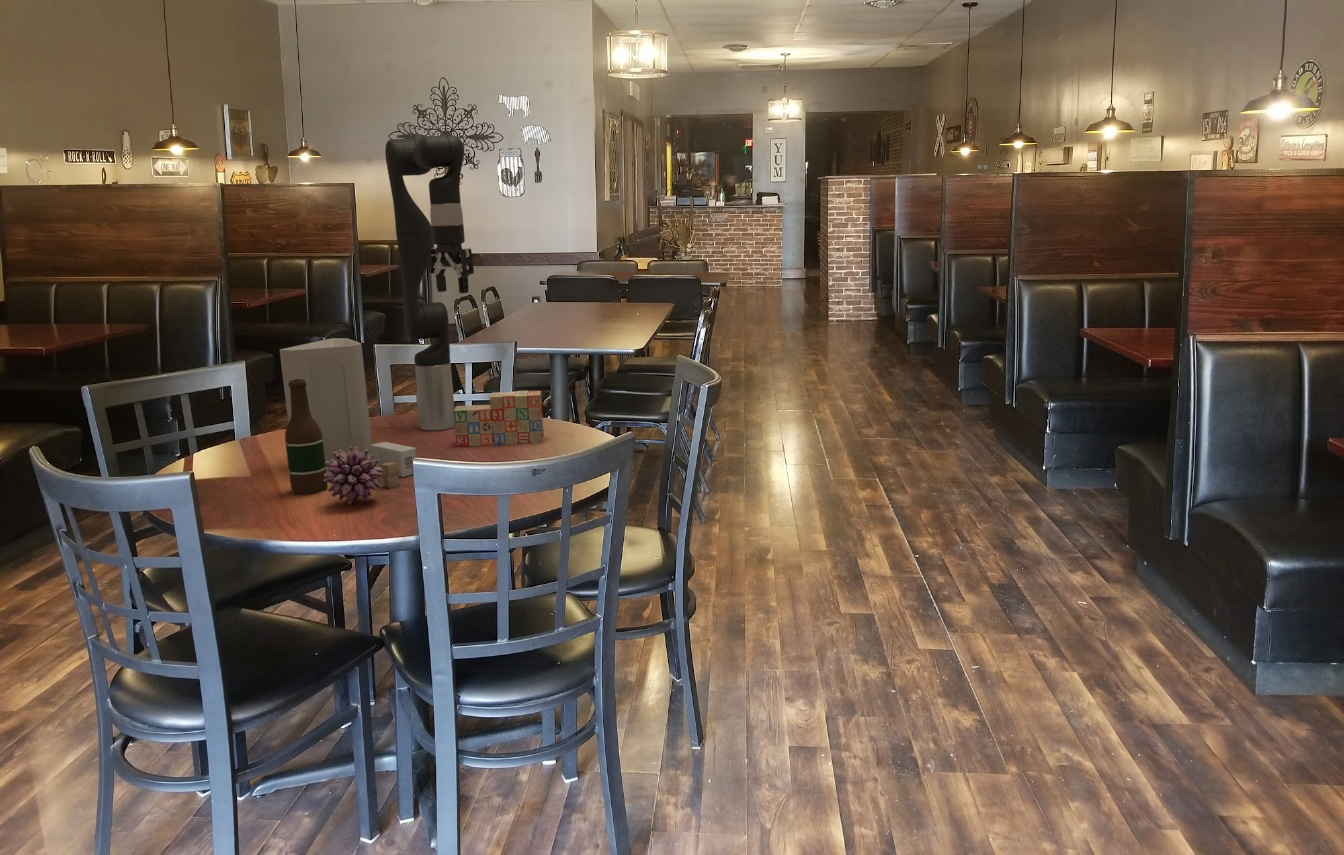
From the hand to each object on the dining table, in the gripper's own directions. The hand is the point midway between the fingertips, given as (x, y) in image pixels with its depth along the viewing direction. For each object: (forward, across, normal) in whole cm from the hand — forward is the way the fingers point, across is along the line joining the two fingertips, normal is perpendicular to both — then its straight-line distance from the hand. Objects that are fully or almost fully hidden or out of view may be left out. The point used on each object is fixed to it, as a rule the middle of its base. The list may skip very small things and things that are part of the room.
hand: (452, 292), depth 263 cm
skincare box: (+35, +13, -25) cm, 45 cm away
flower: (+38, +22, -45) cm, 63 cm away
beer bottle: (+38, +4, -45) cm, 59 cm away
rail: (+38, +7, -33) cm, 51 cm away
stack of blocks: (+38, +4, +8) cm, 39 cm away
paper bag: (+38, -13, -26) cm, 48 cm away
